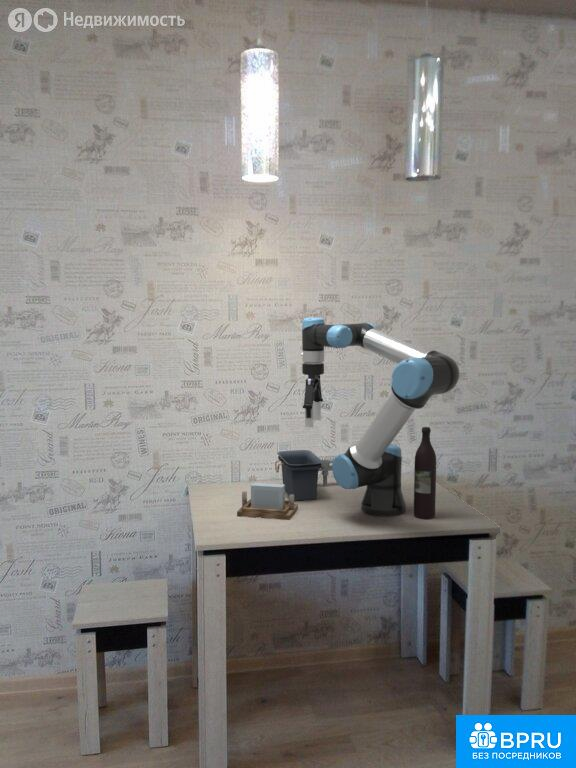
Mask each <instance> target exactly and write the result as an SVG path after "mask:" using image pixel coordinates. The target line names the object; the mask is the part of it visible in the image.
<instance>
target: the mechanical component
mask: <svg viewBox="0 0 576 768" xmlns="http://www.w3.org/2000/svg"><path fill="white" fill-rule="evenodd" d="M321 460H322V461H323V463H321V465H322V468H320V469H319V470H318V472H321V475H322V485H323V487H328V476H329V472H330V471H331V472H333V471H332V462H333V460H334V458H333V459H321Z"/></svg>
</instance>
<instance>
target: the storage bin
mask: <svg viewBox="0 0 576 768" xmlns="http://www.w3.org/2000/svg"><path fill="white" fill-rule="evenodd" d="M276 454H277V455H278V457H277V458H278V460H276V461H275V463H274V470H275V473H277V474H278V473H279V470H280V466H281V476H282V477H281V478H282V484H284V485H285V493H287V494H288V496H289V495H291V494H293V495H294V502H295V501H296V502H298V501H310V500H311V501H312V499H313V500H316V499H317V496H318V495H317V494H318V483H319V481H318V480H319V471H318V470H319V469H321V468H322V465H321V463H323V461H322V460H323V459H321V458H320V457H319V456H317V455H316V454H315V453H314V452H312V450H307V449H295V450H281V451H278V452H277V453H276ZM278 462H280V463H278ZM277 463H278V465H277Z"/></svg>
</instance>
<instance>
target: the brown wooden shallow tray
mask: <svg viewBox="0 0 576 768" xmlns="http://www.w3.org/2000/svg"><path fill="white" fill-rule="evenodd" d="M247 494H248V492H247V491H241V507H240V508H239V509H238V510H237V511H236V512H237V513H236V517H242V516H248V517H247V518H256V517H261V518H260V519H271V518H274V519H275V520H287V521H288V520H291V519H292V517H293V516H294V514H295V513H296V512H297V510H298V509H299V504H298V503H295V500H294V495H293V494H291V495H289V494H288V497H289V500H288V499H285V508H284V509H283V510H275V509H260V508H251V498H249V500H248V495H247Z"/></svg>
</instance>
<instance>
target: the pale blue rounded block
mask: <svg viewBox="0 0 576 768" xmlns="http://www.w3.org/2000/svg"><path fill="white" fill-rule="evenodd" d="M250 499H251V508H260V509H275V510H283V509H284V508H285V500H286V491H285V485H284V484H283V483H282V484H281V483H264V482H263V483H262V482H261V483H260V482H253V483H252V484H250Z"/></svg>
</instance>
